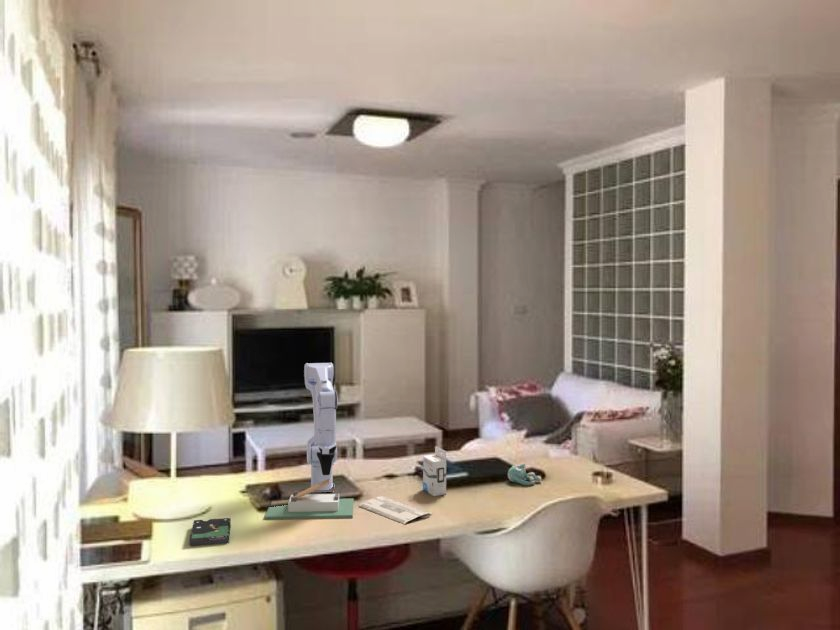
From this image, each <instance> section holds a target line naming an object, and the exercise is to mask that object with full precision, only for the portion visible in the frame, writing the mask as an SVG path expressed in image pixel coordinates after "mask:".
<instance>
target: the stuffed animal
mask: <svg viewBox="0 0 840 630" xmlns="http://www.w3.org/2000/svg"><path fill="white" fill-rule="evenodd" d="M525 467H526V463H521V464H520V465H516V466H515V465H512V466H511V467H510V468H508V471H507V478H508V480H509V481H510V482H512V483H515V484H519V485H522V486H531V485H534V484H535V481H537V482H541V481H542V480H543V478H542V477H541V475H536V474H535V472H532V471H531V472H528V473H527V472H526V471H527V470H526V469H525Z"/></svg>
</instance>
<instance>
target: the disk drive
mask: <svg viewBox="0 0 840 630" xmlns="http://www.w3.org/2000/svg"><path fill="white" fill-rule="evenodd" d="M231 521H232V519H231V517H225V518H224V517H223V518H210V519H207V520H203V519H195V520H193V523H192V527H191V532H190V535H189V547H191V548H192V547H200V546H201V547H202V546H215V545H216V546H217V545H226V544H227V543H228V544H230V535H231V527H232V526H231V525H232V524H231ZM228 544H227V545H228Z"/></svg>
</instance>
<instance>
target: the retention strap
mask: <svg viewBox="0 0 840 630" xmlns="http://www.w3.org/2000/svg"><path fill="white" fill-rule="evenodd" d="M328 484H330V478H329V479H327V480H325V481H323V482H320V483H318V484H316V485H314V486H312V487H311V486H310V487H308V488H305V489H304V490H302V491H298V493H297V494H295V495H294V497H297V499H298V498H300V497H302V496H305V495H307V494H312V493H311V492H313V491H315V490H317V489H319V488H321V487H324V486H326V485H328Z"/></svg>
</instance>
